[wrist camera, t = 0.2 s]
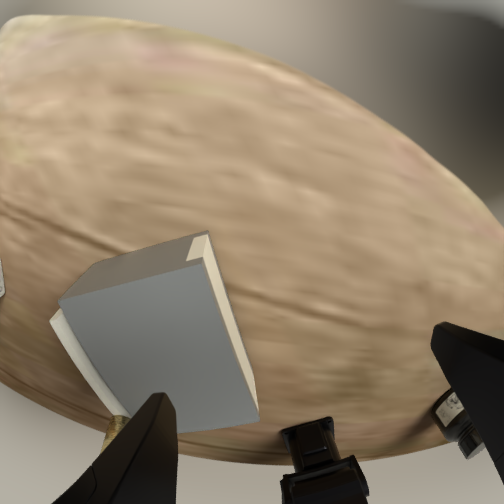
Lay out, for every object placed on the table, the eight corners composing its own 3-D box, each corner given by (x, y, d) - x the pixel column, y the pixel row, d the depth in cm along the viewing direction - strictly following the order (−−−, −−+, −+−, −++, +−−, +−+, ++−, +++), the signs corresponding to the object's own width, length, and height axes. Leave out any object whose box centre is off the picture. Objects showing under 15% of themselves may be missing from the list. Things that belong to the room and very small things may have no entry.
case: (252, 368, 26) (260, 421, 20) (157, 385, 26) (147, 435, 20) (208, 230, 21) (201, 263, 15) (94, 263, 21) (57, 300, 15)
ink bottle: (475, 369, 32) (513, 413, 21) (467, 397, 35) (498, 438, 24) (430, 400, 33) (465, 453, 21) (426, 424, 36) (454, 471, 24)
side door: (156, 380, 25) (138, 471, 15) (136, 383, 25) (113, 469, 15) (101, 274, 21) (36, 355, 11) (79, 280, 21) (13, 357, 11)
